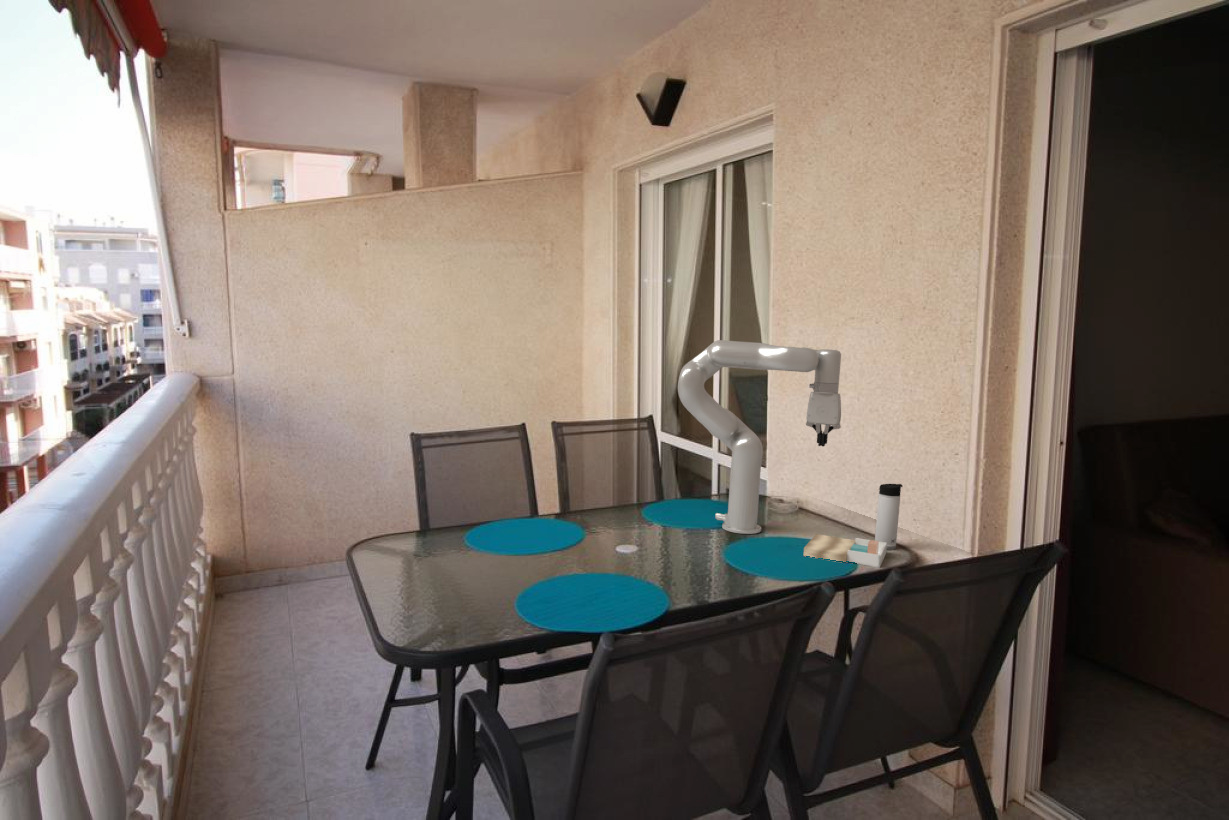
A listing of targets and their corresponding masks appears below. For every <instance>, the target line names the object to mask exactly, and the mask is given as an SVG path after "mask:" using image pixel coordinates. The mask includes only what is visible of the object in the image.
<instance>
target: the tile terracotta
mask: <svg viewBox="0 0 1229 820" xmlns="http://www.w3.org/2000/svg"><path fill="white" fill-rule="evenodd" d="M869 540H870V541H869V543H868V551H867V553H870V554H877V555H878V548H879V541H875V539H874V540H873V539H869Z"/></svg>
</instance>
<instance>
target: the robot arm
mask: <svg viewBox="0 0 1229 820" xmlns="http://www.w3.org/2000/svg"><path fill="white" fill-rule="evenodd" d="M841 353H842V352H841V351H840V350H838V349H828V348H827V349H824V348H823V349H814V348H810V347H796V346H784V345H783V346H782V345H773V344H769V343H763V342H752V341H750V342H749V341H738V340H737V341H735V340H725V339H724V340H723V339H720V340H716V341H714V342H712V343H711V344H710V345H708V346H707V347H706V348H704V350H702V351H701V352H700V353H699V354H697V355H696V356H694V357H693V358H692V359H691V360H689V361H688V362H687V363H685V364H684V365H683V366H682V368H681V370H680V373H679V377H678V381H677V394H678V397H679V400H680V402H681V404H682V405H683V407H684V408H685V409H686V410H687V411H688V412H689V413H690V414H691V415H692V417H694V418H695V420H696V421H698V422H699V423H700V424H701V425H703V427H704V428H705V429H706V430H707V431H708V432H709V433H710V434H711V436H713V437H714V438H715V439H718V440H719V441H721V442H722V443H723V444H724V445H725V446H726V447H727V448H728V449H729V450H730V451H731V462H730V463H731V464H730V473H729V474H730V475H729V491H728V505H727V508H728V509H727V512H726V513H724V514H723V513H718V512H716V513H715V516H714V517H715V519H716V521H723V522H722V526H721V527H722V529H723V530H725V531H727V532H731V533H734V534H743V535H751V534H752V535H753V534H754V535H755V534H759V533H760V532H762V526H761V525H759V524H758V512H759V501H760V500H759V499H760V498H759V497H760V486H761V483H760V482H761V472H762V471H761V469H762V461H763V455H764V453H763V450H764V448H763V444H762V441H761V440H760V438H759V436H758V435H757V434H756V433H755V432H754V431H753V430H752V429H751V428H749V427H748V425H746V423H744V422H743V421H742V420H741V418H739V417H738V416H737V415H735V413H733V412H732V411H731V410H729V409H727V408H725V407H723V406H722V405H721V404H719V402H717V401H716V400H715V398H713V396H712V395H710V394H709V392H707V391H706V389H705V388H706V387H705V383H706V381H707V380H708V379H710V378H712V376H714V375H715V374H716V373H718V371H720V370H721V369H723V368H731V369H732V368H735V369H747V370H757V371H758V370H759V371H760V370H761V371H783V372H798V373H809V372H813V371H814V382H812V383H809V387H808V388H810V389H812V390H813V391H811V392H810V394H809V399H808V402H807V411H806V423H805V425H806V426H807V427H809V428H813V430H814V431H815V432H816V444H818V445H817V446H818V447H825V446H826V445H827V444H828V436H829V433H830V432H831V431H833V430H839V429H841V428H842V425H841V420H842V419H841V418H842V398H841V393H839V385H840V373H841V362H842V354H841ZM822 425H824V430H823V428H822Z"/></svg>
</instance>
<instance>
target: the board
mask: <svg viewBox="0 0 1229 820" xmlns="http://www.w3.org/2000/svg"><path fill="white" fill-rule="evenodd" d="M853 544H855V539H849V538H844V537H843V538H842V537H837V536H830V535H825V534H824V535H822V534H815V535H814V536H813V537H812V538H811V539H810V540H809V541H808V543H806V545H805V546H804V547H803V557H806V556H810V557H809V558H812V557H815V558H814V559H818V558H823V559H822V560H824V559H830V560H836V561H843V562H846V561H847V551H848V550H851V547H852V545H853ZM830 560H829V561H830ZM836 561H835V562H836ZM846 563H847V562H846Z"/></svg>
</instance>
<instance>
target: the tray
mask: <svg viewBox="0 0 1229 820" xmlns="http://www.w3.org/2000/svg"><path fill="white" fill-rule="evenodd" d="M854 540H855V544H857V545H864V546H868V543H869V541H870V540H871V539H865V538H858V537H855V538H854ZM886 549H887V543H886V542H879V548H878V555H877V554H870V553H864V552H858V551H852V550H848V551H847V561H849V562H855V563H857V564H856V565H861V566H866V567H872V568H879V569H880V568H881V566H882V564H883V561H884V559H885V557H886V555H887V550H886Z"/></svg>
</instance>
